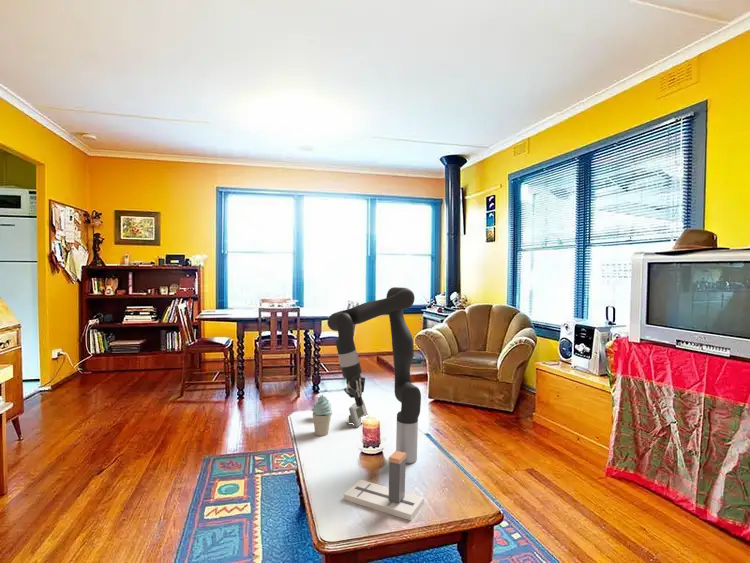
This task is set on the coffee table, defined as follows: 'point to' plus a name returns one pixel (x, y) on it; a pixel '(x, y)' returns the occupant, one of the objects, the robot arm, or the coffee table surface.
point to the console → (383, 499)
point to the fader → (397, 476)
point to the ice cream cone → (322, 416)
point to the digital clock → (357, 414)
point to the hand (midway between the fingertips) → (360, 405)
